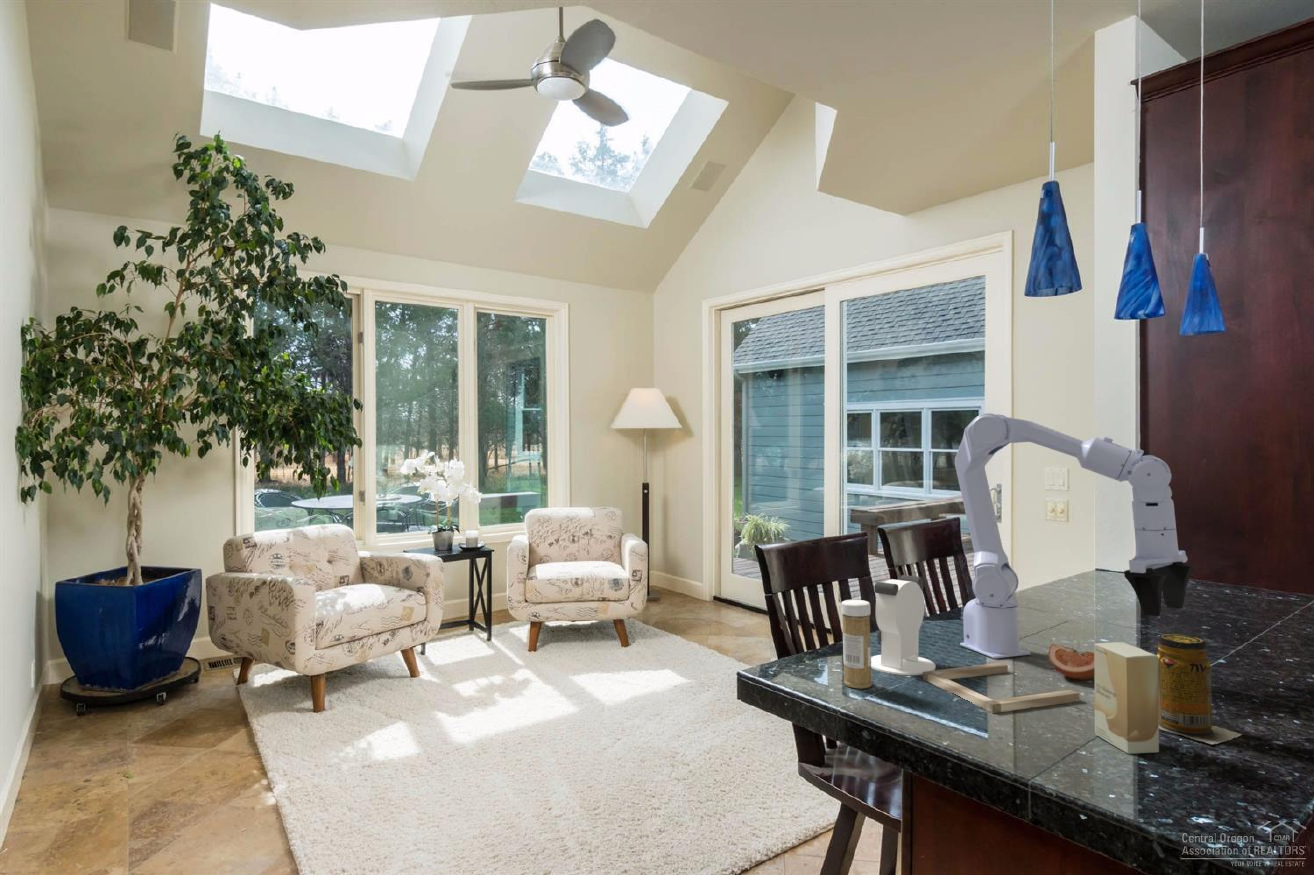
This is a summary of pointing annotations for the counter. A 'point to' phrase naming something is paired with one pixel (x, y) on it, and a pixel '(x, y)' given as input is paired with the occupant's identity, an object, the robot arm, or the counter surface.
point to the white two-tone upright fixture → (900, 626)
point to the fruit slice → (1072, 662)
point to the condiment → (1187, 690)
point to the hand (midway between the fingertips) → (1163, 611)
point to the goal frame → (993, 706)
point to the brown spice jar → (856, 643)
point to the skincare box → (1126, 697)
